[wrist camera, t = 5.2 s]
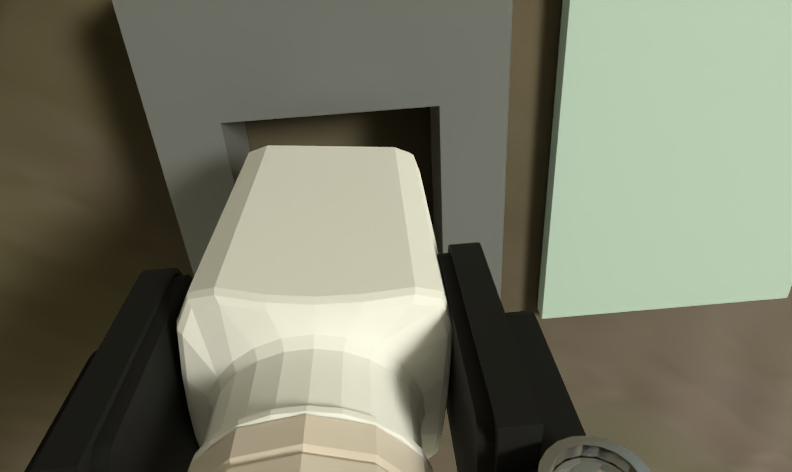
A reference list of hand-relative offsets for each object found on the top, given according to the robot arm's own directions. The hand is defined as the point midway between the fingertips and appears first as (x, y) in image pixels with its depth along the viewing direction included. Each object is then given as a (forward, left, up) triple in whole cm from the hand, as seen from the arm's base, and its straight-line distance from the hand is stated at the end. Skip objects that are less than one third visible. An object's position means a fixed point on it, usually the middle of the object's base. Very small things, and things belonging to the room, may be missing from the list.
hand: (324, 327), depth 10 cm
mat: (+1, +11, -8) cm, 14 cm away
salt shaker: (0, 0, -5) cm, 5 cm away
